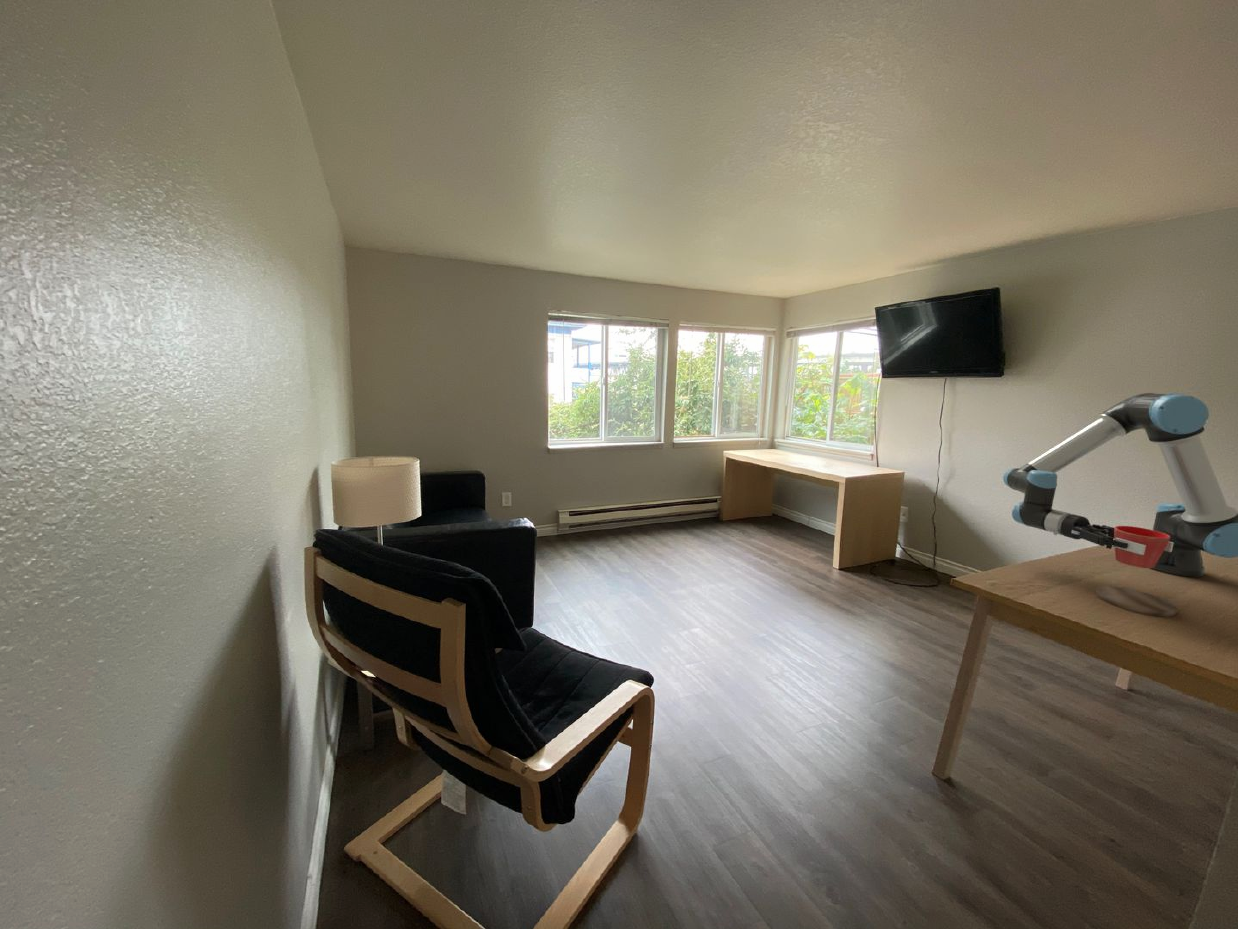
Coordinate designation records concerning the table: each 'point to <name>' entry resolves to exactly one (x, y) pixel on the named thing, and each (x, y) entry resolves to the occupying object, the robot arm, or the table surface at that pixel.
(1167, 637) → the table surface
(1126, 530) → the flower pot
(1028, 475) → the robot arm
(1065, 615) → the table surface
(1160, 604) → the brown plate
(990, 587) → the table surface
